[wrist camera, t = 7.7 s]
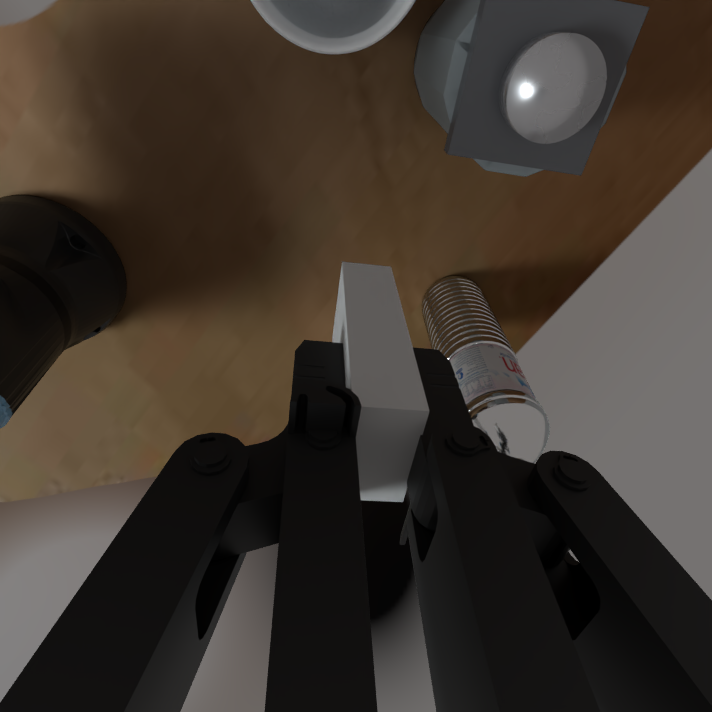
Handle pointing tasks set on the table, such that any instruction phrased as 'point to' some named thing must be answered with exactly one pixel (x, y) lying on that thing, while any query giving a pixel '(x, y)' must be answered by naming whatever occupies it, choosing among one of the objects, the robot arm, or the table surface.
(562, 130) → the plunger
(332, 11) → the mug
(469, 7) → the carafe
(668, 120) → the table surface
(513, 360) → the water bottle
